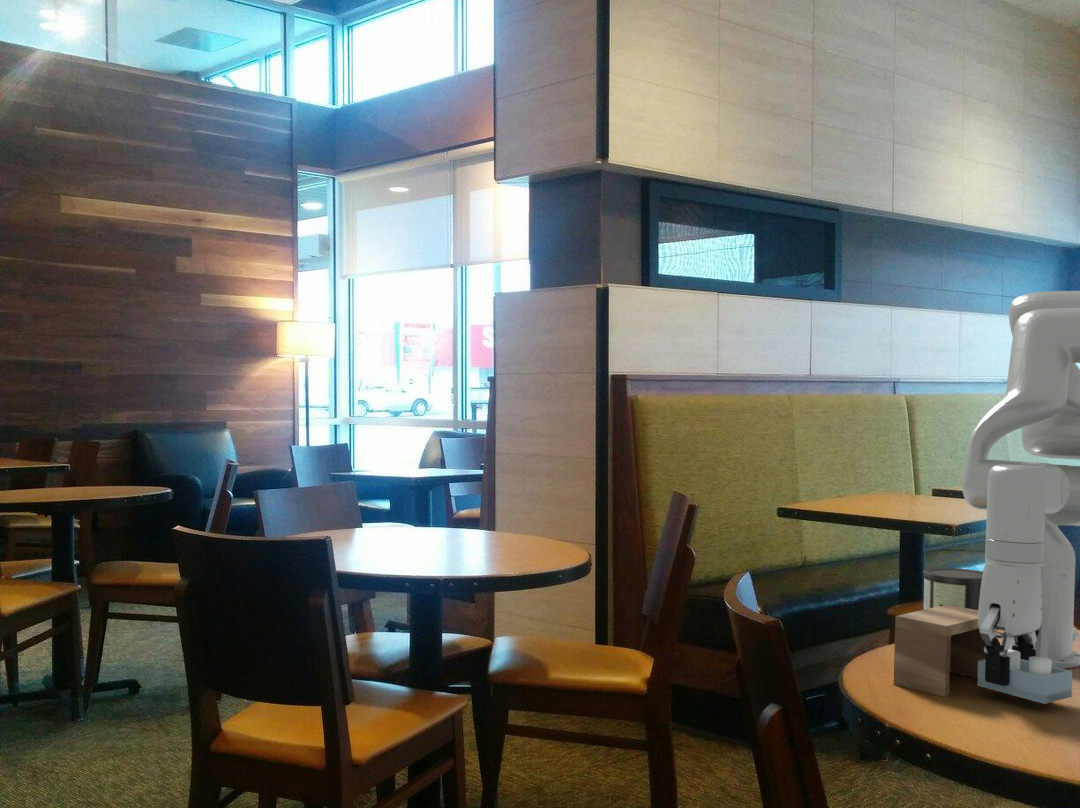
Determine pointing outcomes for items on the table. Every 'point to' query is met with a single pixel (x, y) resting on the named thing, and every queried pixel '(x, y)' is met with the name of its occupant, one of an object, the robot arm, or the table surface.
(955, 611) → the wooden footstool
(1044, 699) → the tray
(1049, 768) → the table surface
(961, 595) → the coffee can
